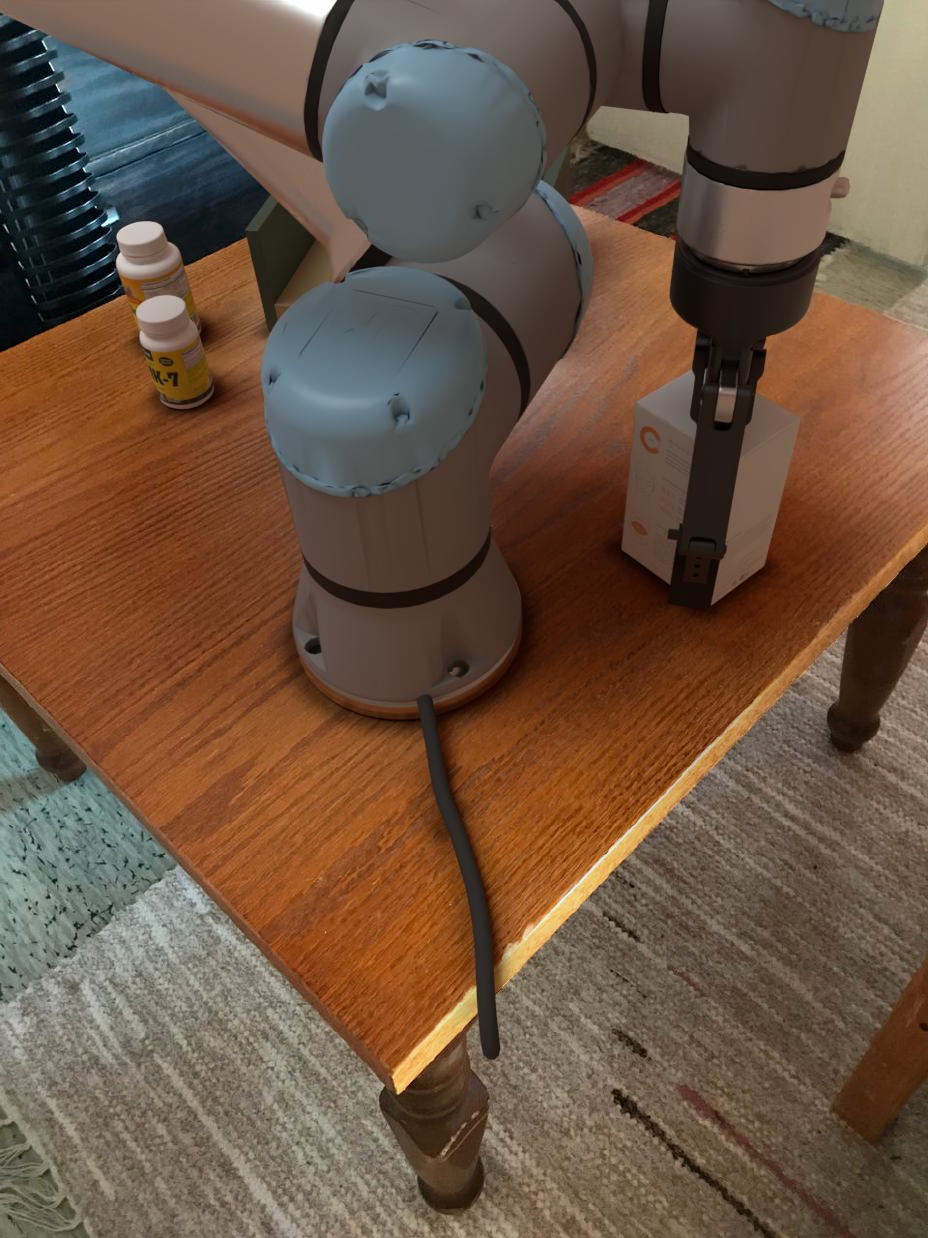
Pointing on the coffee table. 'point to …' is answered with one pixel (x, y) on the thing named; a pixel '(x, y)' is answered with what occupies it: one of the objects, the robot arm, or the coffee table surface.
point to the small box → (665, 479)
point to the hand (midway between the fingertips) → (697, 531)
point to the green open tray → (317, 249)
